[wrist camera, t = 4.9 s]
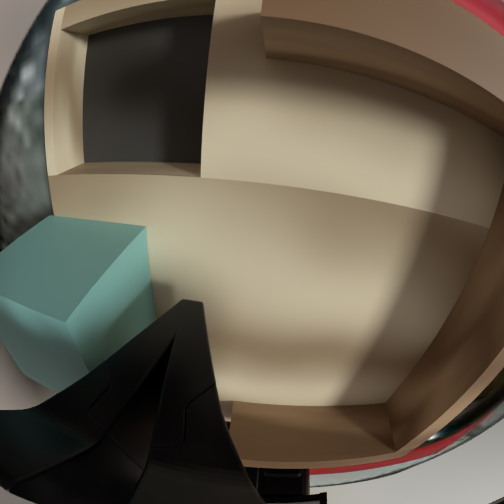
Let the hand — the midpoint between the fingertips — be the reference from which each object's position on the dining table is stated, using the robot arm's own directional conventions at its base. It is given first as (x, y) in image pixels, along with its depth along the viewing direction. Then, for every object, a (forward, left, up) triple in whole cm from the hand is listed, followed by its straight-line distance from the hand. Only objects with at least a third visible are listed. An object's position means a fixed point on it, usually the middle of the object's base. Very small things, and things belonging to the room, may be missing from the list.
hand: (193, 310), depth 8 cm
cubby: (0, -7, -1) cm, 7 cm away
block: (0, +4, -1) cm, 4 cm away
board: (0, -3, -3) cm, 4 cm away
